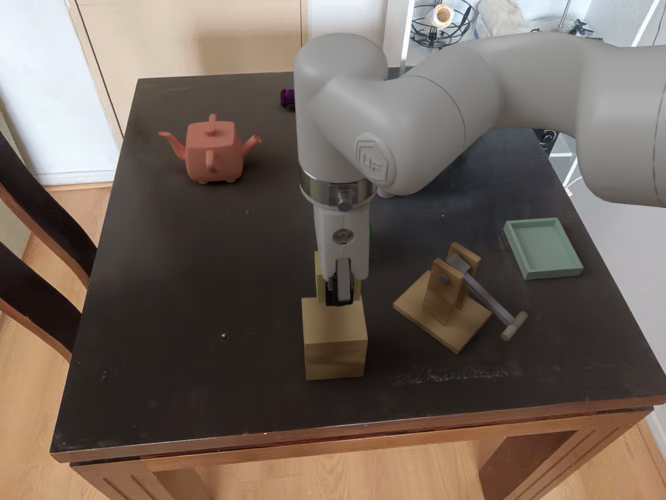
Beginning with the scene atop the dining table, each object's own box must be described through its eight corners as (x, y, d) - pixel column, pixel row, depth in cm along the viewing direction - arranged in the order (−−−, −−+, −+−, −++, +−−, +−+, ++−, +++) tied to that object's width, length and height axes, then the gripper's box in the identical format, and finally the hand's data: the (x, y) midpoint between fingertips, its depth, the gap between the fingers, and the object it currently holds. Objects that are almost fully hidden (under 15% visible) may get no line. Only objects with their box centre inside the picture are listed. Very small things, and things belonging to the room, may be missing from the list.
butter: (356, 277, 66) (358, 247, 62) (359, 300, 63) (361, 271, 59) (315, 280, 65) (314, 250, 61) (317, 303, 63) (316, 274, 59)
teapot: (228, 139, 108) (221, 96, 101) (267, 168, 103) (262, 125, 95) (168, 172, 102) (155, 129, 94) (206, 205, 96) (195, 161, 89)
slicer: (490, 316, 82) (513, 264, 72) (457, 355, 78) (476, 305, 68) (427, 274, 87) (440, 219, 77) (392, 307, 83) (401, 254, 73)
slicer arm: (522, 320, 74) (532, 314, 72) (503, 343, 72) (512, 338, 70) (453, 254, 76) (461, 246, 74) (433, 274, 74) (440, 267, 72)
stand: (357, 333, 80) (361, 294, 72) (363, 376, 75) (367, 339, 68) (303, 337, 79) (301, 298, 72) (306, 380, 75) (304, 344, 67)
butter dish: (579, 275, 87) (583, 267, 86) (524, 280, 87) (528, 272, 85) (553, 225, 95) (557, 217, 93) (503, 229, 94) (506, 220, 92)
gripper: (393, 234, 45) (378, 346, 59) (367, 117, 56) (360, 235, 70) (304, 240, 45) (310, 352, 59) (295, 121, 55) (302, 239, 69)
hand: (337, 287), depth 64 cm, fingers closed on butter, 3 cm apart
